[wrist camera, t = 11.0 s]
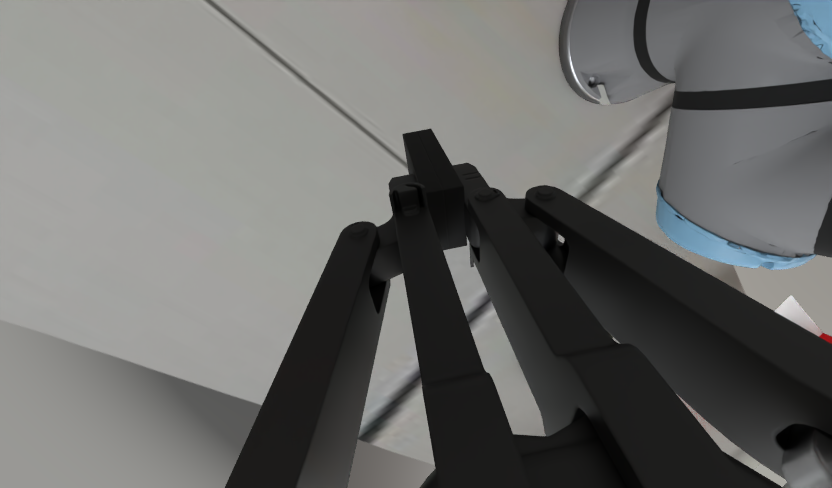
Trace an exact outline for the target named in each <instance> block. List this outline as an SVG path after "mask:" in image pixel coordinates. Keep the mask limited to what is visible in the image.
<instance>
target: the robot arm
mask: <svg viewBox="0 0 832 488" xmlns="http://www.w3.org/2000/svg"><path fill="white" fill-rule="evenodd" d="M559 55H560V62H561V66H562V70H563V73H564V76H565V78H566V80H567V82H568V83H569V85H570V86H571V88H572V89H573V90H574V91H575V92H576V93H577V94H578V95H579V96H580V97H582V98H583V99H585V100H587V101H590V102H593V103H598V104H601V105H610V104H617V103H623V102H627V101H630V100H633V99H635V98H637V97H639V96H642V95H644V94H646V93H648V92H651V91H653V90H655V89H658V88H660V87H662V86H665V85H667V84H669V83H676V84H675V92H674V98H673V104H672V108H671V114H670V120H669V127H668V133H667V139H666V146H665V152H664V158H663V163H662V169H661V174H660V179H659V180H658V183H657V187H656V192H657V196H658V199H657V208H656V220H657V223H658V225H659V227H660V228H661V229H662V231H663V232H665V234H666V235H667V237H669V238H670V239H671V240H672V241H674V242H675V243H677V244H678V245H680V246H682V247H683V248H685V249H687V250H689V251H691V252H694V253H696V254H699V255H701V256H704V257H707V258H709V259H712V260H716V261H719V262H723V263H727V264H731V265H736V266H741V267H748V268H758V267H759V266H763V267H765V268H768V269H771V270H773V269H774V270H779V269H790V268H794V267H797V266H801V265H803V264H805V263H806V262H808V261H809V260H811V259H813V258H814V257H815V256H816V255H822V256H827V257H832V0H569V1H568V3H567V6H566V9H565V12H564V15H563V18H562V23H561V28H560V35H559ZM403 140H404V146H405V152H406V158H407V164H408V171H409V175H405V176H400V177H395V178H392V179H391V181H390V182H389V190H390V192H389V197H390V202H391V207H392V211H393V216H392V218H391V219H390V220H389V221H388V222H386V223H385V224H383V225H381V226H379V227H376V226H375V225H374V224H373V223H371V222H363V221H362V222H356V223H354V224H351V225H349V226H347V227H346V228H344V229H343V231H342V232H341V234H340V236H339V238H338V240H337V242H336V245H335V247H334V249H333V251H332V253H331V256H330V258H329V260H328V262H327V264H326V266H325V269H324V271H323V273H322V275H321V277H320V280H319V282H318V284H317V286H316V288H315V291H314V293H313V295H312V297H311V299H310V302H309V304H308V306H307V308H306V310H305V313H304V315H303V317H302V319H301V321H300V324H299V326H298V328H297V330H296V332H295V335H294V337H293V339H292V341H291V343H290V346H289V348H288V350H287V352H286V354H285V357H284V359H283V361H282V363H281V365H280V368H279V370H278V372H277V374H276V376H275V378H274V381H273V383H272V385H271V387H270V389H269V392H268V394H267V396H266V398H265V400H264V403H263V405H262V407H261V409H260V411H259V414H258V416H257V418H256V420H255V423H254V425H253V427H252V429H251V431H250V433H249V436H248V438H247V440H246V442H245V444H244V447H243V449H242V451H241V453H240V455H239V458H238V460H237V462H236V464H235V466H234V469H233V471H232V473H231V475H230V477H229V480H228V482H227V484H226V486H225V488H347V486H348V482H349V477H350V471H351V467H352V463H353V458H354V453H355V449H356V444H357V439H358V435H359V430H360V425H361V420H362V416H363V411H364V406H365V402H366V397H367V392H368V387H369V383H370V378H371V373H372V369H373V364H374V359H375V354H376V350H377V345H378V340H379V336H380V331H381V326H382V321H383V317H384V312H385V307H386V303H387V298H388V293H389V288H390V279H391V278H393V277H395V276H398V275H400V274H402V273H403V275H404V280H405V286H406V292H407V298H408V304H409V309H410V315H411V321H412V327H413V333H414V338H415V344H416V350H417V356H418V362H419V367H420V373H421V379H422V389H423V396H424V402H425V408H426V414H427V420H428V426H429V432H430V438H431V444H432V450H433V456H434V461H435V467H436V469H435V470H434V471H433V472H432V473H431V474H430V475H429V476H428V477H427V479H426V480H425V482H424V483H423V484H422V485H421V487H420V488H832V344H831V343H829V342H827V341H826V340H824V339H822V338H820V337H818V336H817V335H815V334H813V333H811V332H810V331H808V330H806V329H804V328H803V327H801V326H799V325H797V324H796V323H794V322H792V321H790V320H789V319H787V318H785V317H783V316H782V315H780V314H778V313H776V312H775V311H773V310H771V309H769V308H768V307H766V306H764V305H762V304H761V303H759V302H757V301H755V300H753V299H752V298H750V297H748V296H747V295H745V294H743V293H741V292H740V291H738V290H736V289H734V288H732V287H731V286H729V285H727V284H725V283H724V282H722V281H720V280H718V279H717V278H715V277H713V276H711V275H710V274H708V273H706V272H704V271H703V270H701V269H699V268H697V267H696V266H694V265H692V264H690V263H689V262H687V261H685V260H683V259H682V258H680V257H678V256H676V255H675V254H673V253H671V252H669V251H668V250H666V249H664V248H662V247H661V246H659V245H657V244H655V243H654V242H652V241H650V240H648V239H646V238H645V237H643V236H641V235H639V234H638V233H636V232H634V231H632V230H631V229H629V228H627V227H625V226H624V225H622V224H620V223H618V222H617V221H615V220H613V219H611V218H610V217H608V216H606V215H604V214H603V213H601V212H599V211H597V210H596V209H594V208H592V207H590V206H589V205H587V204H585V203H583V202H582V201H580V200H578V199H576V198H575V197H573V196H571V195H569V194H568V193H566V192H564V191H562V190H560V189H558V188H556V187H552V186H547V185H544V186H543V185H542V186H537V187H533V188H531V189H529V190H528V191H527V192H526V197H525V199H510V198H506V197H505V195H504V194H503V193H502V192H501V191H500V190H498V189H495V188H490V187H489V186H488V184H487V183H486V181H485V180H484V179H483V177H482V176H481V174H480V173H479V172H478V170H477V169H476V167H475V166H473V165H471V164H469V163H464V164H458V165H453V166H452V164H451V163H450V161H449V159H448V158H447V156H446V154H445V152H444V151H443V149H442V147H441V145H440V144H439V142H438V140H437V138H436V137H435V135H434V133H433V131H432V130H431V129H427V130H421V131H416V132H411V133H405V134H403ZM558 234H560V235H561V236H562V237H564V238H565V241H564V244H563V243H561V242H560V241H559V240H558ZM466 235H467V237H468V240H469V242H470V264H471V267H474V264H473V263H475V265H476V267H477V269H478V272H479V274H480V276H481V278H482V281H483V283H484V285H485V287H486V290H487V292H488V294H489V296H490V299H491V301H492V303H493V305H494V308H495V310H496V312H497V315H498V317H499V319H500V321H501V324H502V326H503V328H504V330H505V333H506V335H507V337H508V339H509V342H510V344H511V346H512V348H513V351H514V353H515V355H516V357H517V360H518V362H519V364H520V367H521V369H522V371H523V373H524V376H525V378H526V380H527V382H528V385H529V387H530V389H531V391H532V394H533V396H534V398H535V400H536V403H537V405H538V407H539V410H540V412H541V416H542V419H543V425H544V430H545V434H546V436H528V435H513V433H512V431H511V428H510V425H509V422H508V420H507V417H506V414H505V411H504V409H503V406H502V403H501V400H500V397H499V395H498V392H497V389H496V387H495V384H494V382H493V379H492V377H491V376H490V374H489V373H487V372H486V371H485V370H484V367H483V365H482V362H481V359H480V356H479V353H478V350H477V348H476V345H475V342H474V339H473V336H472V333H471V330H470V327H469V324H468V322H467V319H466V316H465V313H464V310H463V307H462V304H461V301H460V298H459V296H458V293H457V290H456V287H455V284H454V281H453V278H452V275H451V272H450V270H449V267H448V264H447V261H446V258H445V255H444V252H443V250H447V249H452V248H457V247H462V246H467V238H466ZM606 331H607V332H609V333H610V334H611V335H612V336H613V337H614V338H615V339H616V340H617V341H619V342H620V343H621V344H619V343H617V342H615V341H614V340H613V339H612V338H611V337H610V336H609V334H608V333H607V332H606ZM676 394H677V395H679V396H680V397H681V398H682V399H683V400H684V401H685V402H686V403H687V404H689V405H690V406H691V407H692V408H693V409H694V410H695V411H696V412H697V413H699V414H700V415H701V416H702V417H703V418H704V419H705V420H706V421H707V422H709V423H710V424H711V425H712V426H713V427H715V428H716V429H717V430H718V431H719V432H721V433H722V434H723V435H724V436H725V437H726V438H728V439H729V440H730V441H731V442H733V443H734V444H735V445H737V446H738V447H739V448H741V449H742V450H743V451H745V452H746V453H747V454H749V455H750V456H751V457H753V458H754V459H755V460H757V461H758V462H760V463H761V464H763V465H764V466H766V467H767V468H769V469H770V470H772V471H773V472H775V473H776V474H778V475H780V476H781V477H783V478H784V479H785V480H786V481H787V483H786V484H785V485H784V486H783V487H781V486H780V485H778V484H776V483H774V482H773V481H771V480H770V479H768V478H766V477H765V476H763V475H761V474H759V473H758V472H756V471H754V470H753V469H751V468H749V467H748V466H746V465H744V464H743V463H741V462H739V461H738V460H736V459H734V458H733V457H731V456H729V455H728V454H726V453H724V452H723V451H722V450H721V449H720V448H719V447H718V445H717V444H716V443H715V442H714V440H713V439H712V438H711V437H710V435H709V434H708V433H707V432H706V431H705V429H704V428H703V427H702V426H701V424H700V423H699V422H698V421H697V419H696V418H695V417H694V416H693V414H692V413H691V412H690V411H689V409H688V408H687V407H686V406H685V404H684V403H683V402H682V401H681V400H680V398H679V397H678V396H677V395H676Z"/></svg>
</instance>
